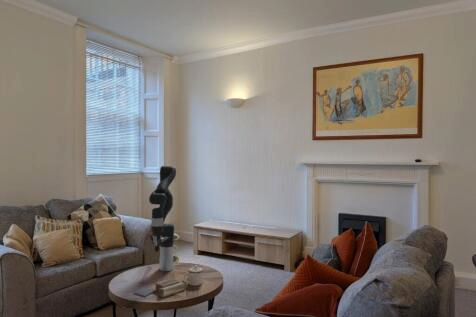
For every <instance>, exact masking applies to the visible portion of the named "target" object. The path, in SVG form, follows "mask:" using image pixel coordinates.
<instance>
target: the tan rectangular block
mask: <svg viewBox="0 0 476 317" xmlns="http://www.w3.org/2000/svg"><path fill="white" fill-rule="evenodd" d="M177 283H180V281H179V280H177V279H175V278H173V277H170V278H168V279H167V278H166V279H164V280H160V281H157V282H155V289H154V290H155V292H158V293H159V288H165V287H168V286H171V285H174V284H177Z"/></svg>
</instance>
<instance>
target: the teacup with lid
mask: <svg viewBox="0 0 476 317" xmlns="http://www.w3.org/2000/svg"><path fill="white" fill-rule="evenodd" d="M203 271H204V269H203V268H202V267H199V266H198V265H197V264H196V265H194V266H192V267H191V268H189V269H188V272H185V273H184V275H183V278H184V279H185V280H186V281H188V284H189V285H190V286H194V287H196V286H201V285H202V284H203ZM186 275H188V278H186Z"/></svg>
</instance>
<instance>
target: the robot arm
mask: <svg viewBox="0 0 476 317" xmlns="http://www.w3.org/2000/svg"><path fill="white" fill-rule="evenodd" d="M176 175H177V168H176V167H175V166H171V165H162V166H160V169H159V183H158V184H157V186H156V188H155V190H154V191H153V192H151V194H150V195H149V198H148V199H149V200H148V201H149V204H151V205H156V206H157V205H159V206H158V207H155V208H152V210H151V220H150V221H151V224H150V225H151V229H150V231H151V233H152V235H150V236H149V238H150V240H151V244H152V245H154V252H156V253H158V252H160V253H159V266H158V267H159V268H158V269H159V270H160V271H161V272H171V271H172V270H174V236H175V225H174V224H173V223H165V221H166V217H167V216H168V214H169V213H170V212H171V210H172V208H173V205H174V203H173V202H174V197H173V194H172V192H171V190H169V187H170V185H171V184H172V183H173V182H174V180H175V178H176ZM165 238H166V239H165Z"/></svg>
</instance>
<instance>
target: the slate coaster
mask: <svg viewBox="0 0 476 317" xmlns="http://www.w3.org/2000/svg"><path fill="white" fill-rule="evenodd" d="M155 292H156V290H155V289H152V288H148V287H142V288H140V289H138V290H136V291H134V292H133V295H137V296H140V297H144V298H146V297H148V296H150V295H152V294H154V293H155Z"/></svg>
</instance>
